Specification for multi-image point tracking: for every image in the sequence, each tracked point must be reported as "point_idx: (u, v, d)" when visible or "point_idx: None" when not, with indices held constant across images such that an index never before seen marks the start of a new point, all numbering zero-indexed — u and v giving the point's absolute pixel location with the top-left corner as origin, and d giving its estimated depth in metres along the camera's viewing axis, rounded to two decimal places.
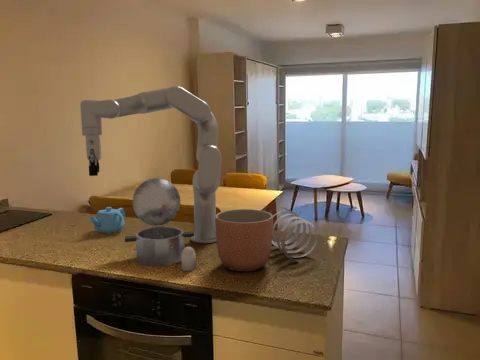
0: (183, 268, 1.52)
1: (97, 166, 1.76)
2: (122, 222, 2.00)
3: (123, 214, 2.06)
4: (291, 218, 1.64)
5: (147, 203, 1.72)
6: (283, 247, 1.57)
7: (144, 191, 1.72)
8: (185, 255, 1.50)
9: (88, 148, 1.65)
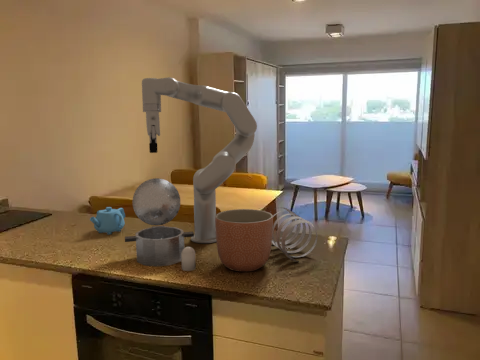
0: (183, 268, 1.52)
1: None
2: (122, 222, 2.00)
3: (123, 214, 2.06)
4: (291, 218, 1.64)
5: (147, 203, 1.72)
6: (283, 247, 1.58)
7: (144, 191, 1.72)
8: (185, 255, 1.50)
9: (149, 124, 1.73)
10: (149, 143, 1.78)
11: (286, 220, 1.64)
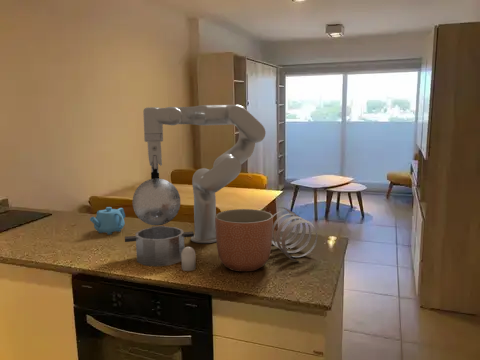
0: (183, 268, 1.52)
1: None
2: (122, 222, 2.00)
3: (123, 214, 2.06)
4: (291, 218, 1.64)
5: (147, 203, 1.72)
6: (283, 247, 1.58)
7: (144, 191, 1.72)
8: (185, 255, 1.50)
9: (151, 154, 1.70)
10: (151, 173, 1.75)
11: (286, 220, 1.64)
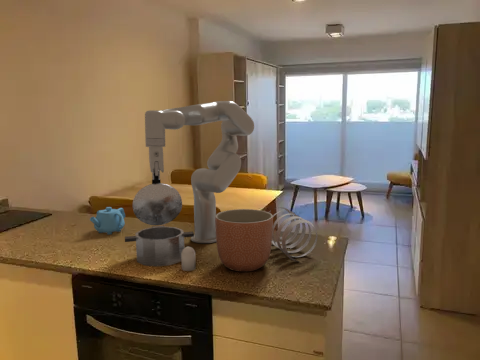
0: (183, 268, 1.52)
1: None
2: (122, 222, 2.00)
3: (123, 214, 2.06)
4: (291, 218, 1.65)
5: (148, 207, 1.67)
6: (284, 247, 1.58)
7: (145, 196, 1.64)
8: (185, 255, 1.50)
9: (152, 160, 1.59)
10: (152, 180, 1.65)
11: (286, 220, 1.64)
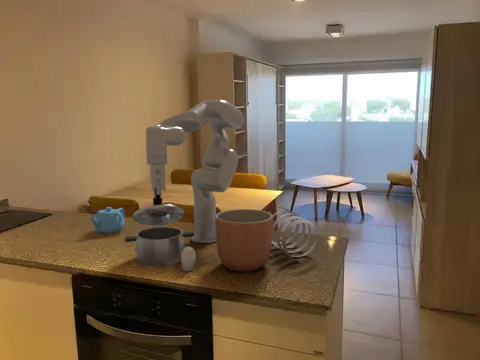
0: (183, 268, 1.52)
1: None
2: (122, 222, 2.00)
3: (123, 214, 2.06)
4: (291, 218, 1.65)
5: (148, 217, 1.63)
6: (284, 247, 1.58)
7: (146, 213, 1.59)
8: (185, 255, 1.50)
9: (154, 178, 1.54)
10: (153, 198, 1.59)
11: (286, 220, 1.64)
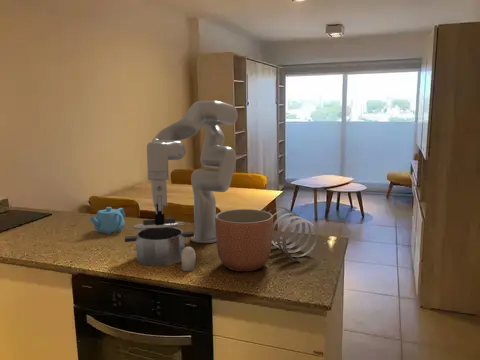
0: (183, 268, 1.52)
1: None
2: (122, 222, 2.00)
3: (123, 214, 2.06)
4: (291, 218, 1.65)
5: None
6: (284, 247, 1.58)
7: None
8: (185, 255, 1.50)
9: (155, 195, 1.52)
10: (155, 214, 1.57)
11: (286, 220, 1.64)
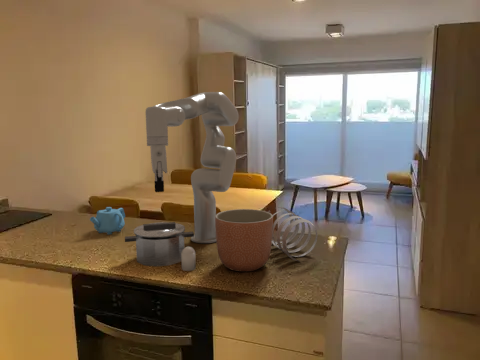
0: (183, 268, 1.52)
1: None
2: (122, 222, 2.00)
3: (123, 214, 2.06)
4: (291, 217, 1.65)
5: None
6: (284, 246, 1.58)
7: None
8: (185, 255, 1.50)
9: (155, 160, 1.48)
10: (154, 181, 1.54)
11: (286, 220, 1.65)
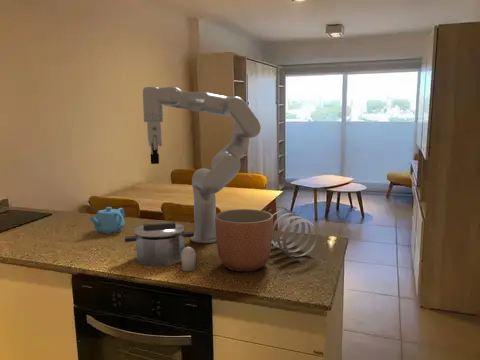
0: (183, 268, 1.52)
1: None
2: (122, 222, 2.00)
3: (123, 214, 2.06)
4: (291, 217, 1.65)
5: None
6: (284, 246, 1.58)
7: None
8: (185, 255, 1.50)
9: (151, 134, 1.67)
10: None
11: (286, 220, 1.65)
